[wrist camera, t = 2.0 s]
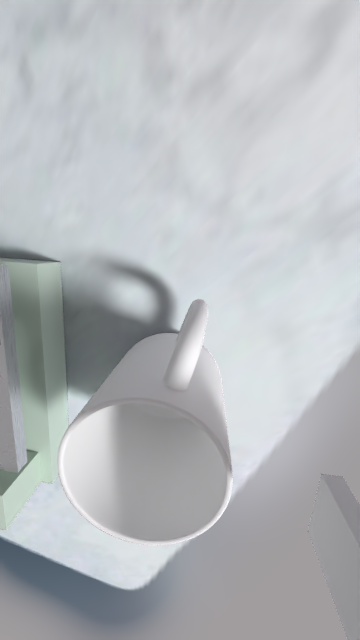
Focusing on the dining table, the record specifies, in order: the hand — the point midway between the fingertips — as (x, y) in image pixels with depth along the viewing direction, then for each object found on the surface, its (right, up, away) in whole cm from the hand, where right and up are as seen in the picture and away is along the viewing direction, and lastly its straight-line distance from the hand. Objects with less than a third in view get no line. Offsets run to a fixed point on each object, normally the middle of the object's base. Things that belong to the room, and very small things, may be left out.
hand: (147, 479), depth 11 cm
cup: (+1, +3, +11) cm, 12 cm away
